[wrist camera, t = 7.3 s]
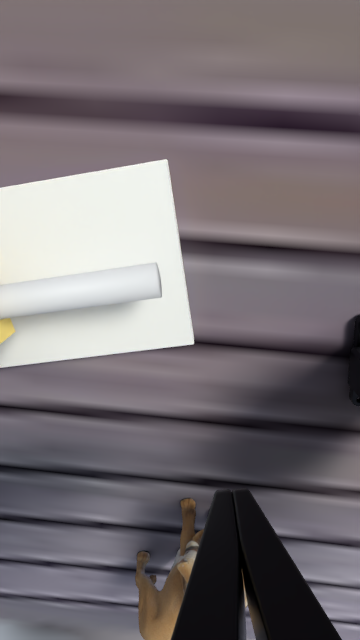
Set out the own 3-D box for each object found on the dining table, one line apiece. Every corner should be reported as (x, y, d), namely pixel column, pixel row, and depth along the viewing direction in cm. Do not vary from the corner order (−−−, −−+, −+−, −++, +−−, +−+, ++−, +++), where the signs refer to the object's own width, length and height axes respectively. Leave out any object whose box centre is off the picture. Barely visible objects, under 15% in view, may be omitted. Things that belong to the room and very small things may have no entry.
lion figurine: (186, 460, 24) (184, 606, 15) (248, 479, 24) (279, 630, 16) (128, 566, 29) (104, 716, 21) (181, 580, 30) (178, 730, 21)
